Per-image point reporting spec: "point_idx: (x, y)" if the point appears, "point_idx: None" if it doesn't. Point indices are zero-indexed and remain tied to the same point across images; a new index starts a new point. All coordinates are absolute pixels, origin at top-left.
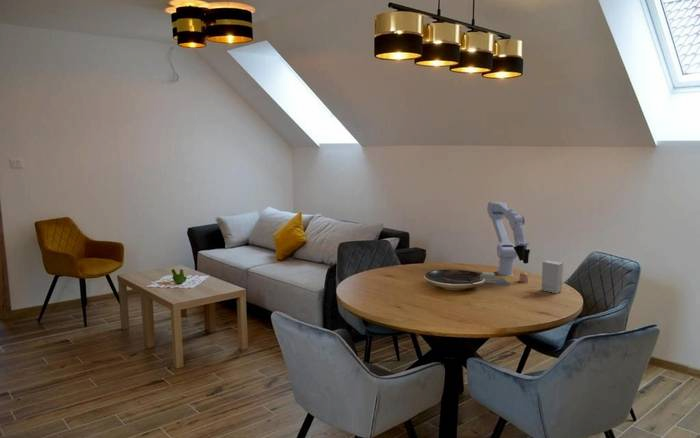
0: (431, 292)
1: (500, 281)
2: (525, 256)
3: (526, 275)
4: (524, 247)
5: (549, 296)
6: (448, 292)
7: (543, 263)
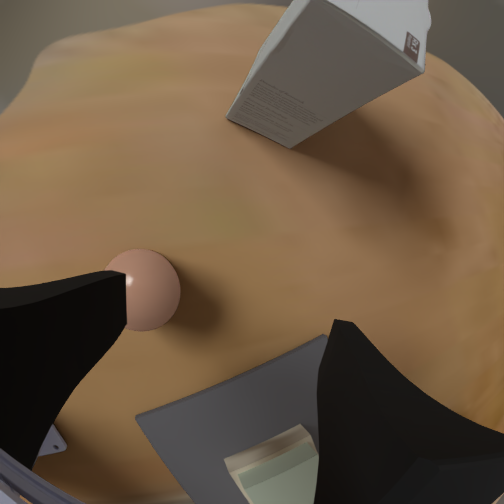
0: None
1: (242, 418)
2: (59, 341)
3: (170, 264)
4: (433, 440)
5: (376, 117)
6: None
7: (419, 70)
